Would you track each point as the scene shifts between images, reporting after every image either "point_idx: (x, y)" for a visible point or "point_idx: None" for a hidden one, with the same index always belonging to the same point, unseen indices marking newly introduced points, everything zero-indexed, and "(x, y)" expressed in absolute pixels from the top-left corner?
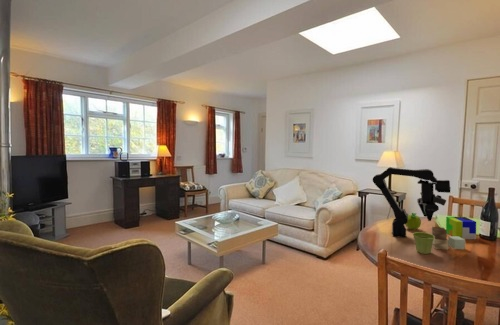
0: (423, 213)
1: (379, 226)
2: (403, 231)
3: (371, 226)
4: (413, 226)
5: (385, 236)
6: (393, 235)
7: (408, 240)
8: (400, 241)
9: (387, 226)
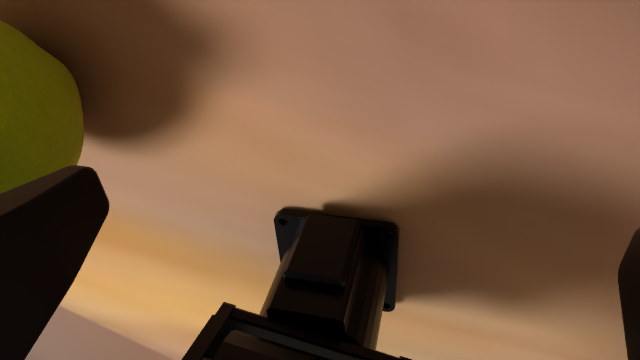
0: (54, 289)
1: (138, 312)
2: (358, 275)
3: (170, 354)
4: (75, 115)
5: (404, 347)
6: (387, 309)
7: (495, 220)
8: (539, 292)
9: (101, 264)
